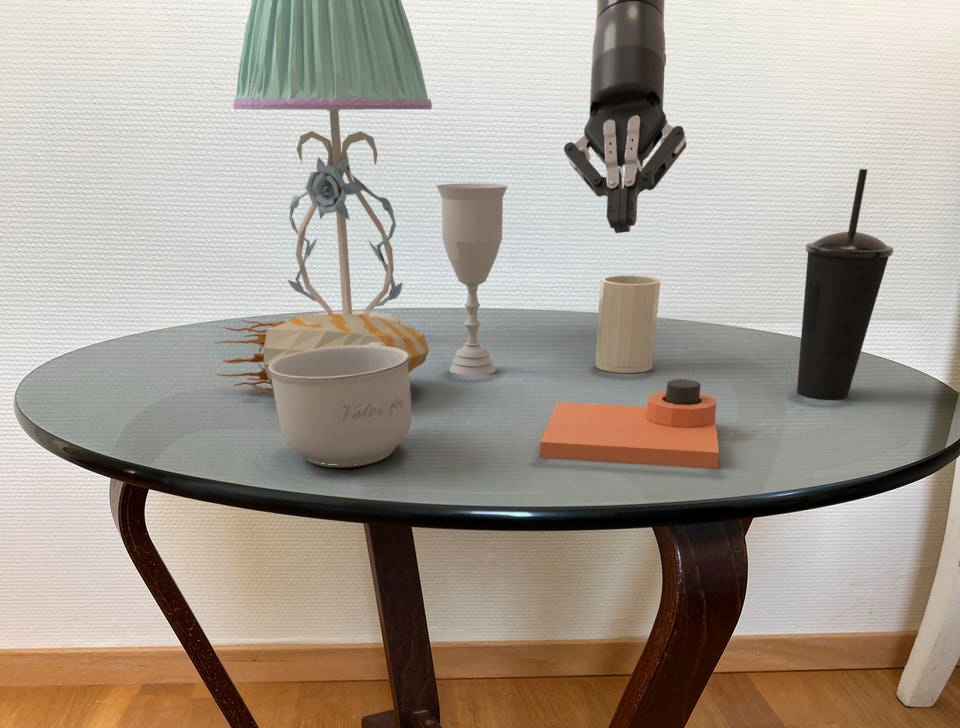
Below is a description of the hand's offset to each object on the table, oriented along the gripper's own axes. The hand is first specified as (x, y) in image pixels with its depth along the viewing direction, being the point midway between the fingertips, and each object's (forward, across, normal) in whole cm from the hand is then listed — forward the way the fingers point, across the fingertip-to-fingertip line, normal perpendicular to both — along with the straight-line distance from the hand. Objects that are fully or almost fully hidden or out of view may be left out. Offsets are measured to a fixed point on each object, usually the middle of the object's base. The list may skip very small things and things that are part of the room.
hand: (621, 228), depth 96 cm
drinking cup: (+17, +20, +5) cm, 27 cm away
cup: (+12, -1, +8) cm, 14 cm away
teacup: (+29, -16, -24) cm, 41 cm away
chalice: (+14, -16, +1) cm, 21 cm away
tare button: (+23, +8, -13) cm, 27 cm away
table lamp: (+6, -35, +8) cm, 37 cm away
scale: (+26, +4, -14) cm, 30 cm away
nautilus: (+19, -27, -12) cm, 35 cm away
